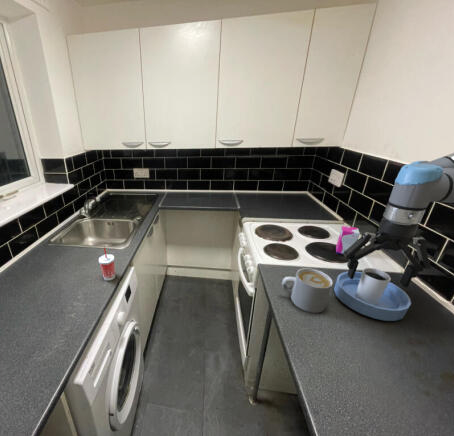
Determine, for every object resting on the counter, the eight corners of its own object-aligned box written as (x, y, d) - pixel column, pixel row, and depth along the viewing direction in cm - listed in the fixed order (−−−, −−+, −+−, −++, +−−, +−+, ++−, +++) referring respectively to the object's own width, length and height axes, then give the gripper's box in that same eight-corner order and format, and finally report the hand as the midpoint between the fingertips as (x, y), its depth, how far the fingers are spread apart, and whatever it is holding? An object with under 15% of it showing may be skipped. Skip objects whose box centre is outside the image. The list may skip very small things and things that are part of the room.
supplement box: (350, 250, 104) (358, 227, 99) (352, 256, 100) (360, 233, 95) (335, 247, 107) (342, 225, 102) (335, 253, 102) (343, 230, 98)
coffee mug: (325, 297, 79) (333, 274, 75) (324, 317, 71) (332, 292, 67) (282, 284, 86) (287, 261, 82) (277, 300, 78) (282, 277, 74)
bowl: (387, 288, 81) (392, 277, 79) (418, 329, 66) (425, 317, 64) (327, 278, 88) (331, 267, 86) (342, 314, 72) (346, 301, 70)
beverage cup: (117, 279, 92) (113, 250, 86) (102, 283, 90) (96, 253, 85) (116, 271, 97) (111, 242, 92) (101, 274, 96) (96, 245, 90)
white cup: (370, 292, 79) (380, 268, 75) (384, 306, 73) (396, 281, 69) (349, 290, 80) (358, 267, 76) (362, 305, 74) (372, 280, 70)
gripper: (351, 221, 66) (332, 280, 74) (472, 231, 57) (435, 296, 66) (343, 211, 72) (327, 267, 81) (451, 219, 64) (420, 280, 72)
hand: (375, 280), depth 73 cm, fingers open, 13 cm apart
